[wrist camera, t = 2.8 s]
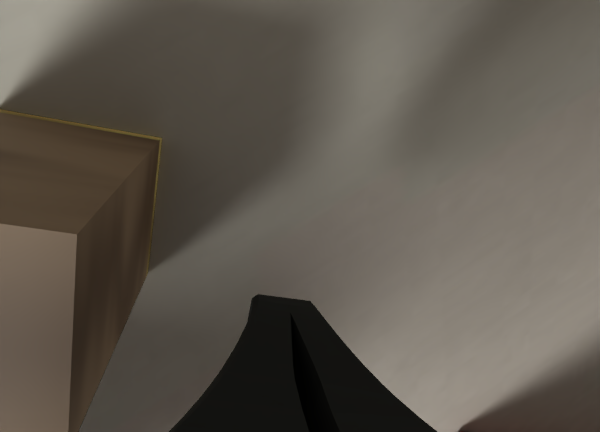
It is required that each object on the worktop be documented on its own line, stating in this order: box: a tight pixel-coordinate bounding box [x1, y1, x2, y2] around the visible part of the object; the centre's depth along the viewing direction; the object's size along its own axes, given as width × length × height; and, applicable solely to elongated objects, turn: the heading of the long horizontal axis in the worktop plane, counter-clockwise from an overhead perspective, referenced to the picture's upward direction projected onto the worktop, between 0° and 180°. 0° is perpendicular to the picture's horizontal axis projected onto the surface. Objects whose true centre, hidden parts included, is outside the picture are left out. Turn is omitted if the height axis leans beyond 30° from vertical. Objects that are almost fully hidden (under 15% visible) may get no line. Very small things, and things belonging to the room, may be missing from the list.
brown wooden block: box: [0, 109, 162, 432], centre depth 12 cm, size 5×5×8 cm
